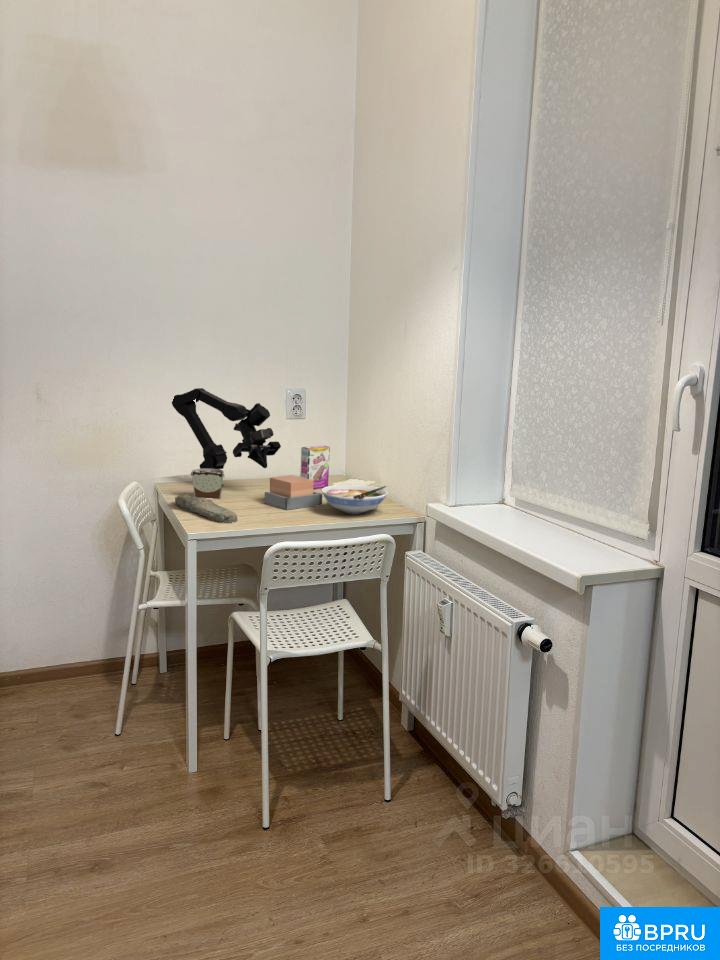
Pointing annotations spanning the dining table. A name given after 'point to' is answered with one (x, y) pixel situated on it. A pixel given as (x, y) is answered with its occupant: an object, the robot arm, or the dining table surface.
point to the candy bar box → (315, 465)
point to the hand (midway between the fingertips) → (265, 467)
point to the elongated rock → (205, 508)
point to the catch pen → (293, 500)
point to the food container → (207, 483)
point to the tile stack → (291, 486)
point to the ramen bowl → (354, 497)
